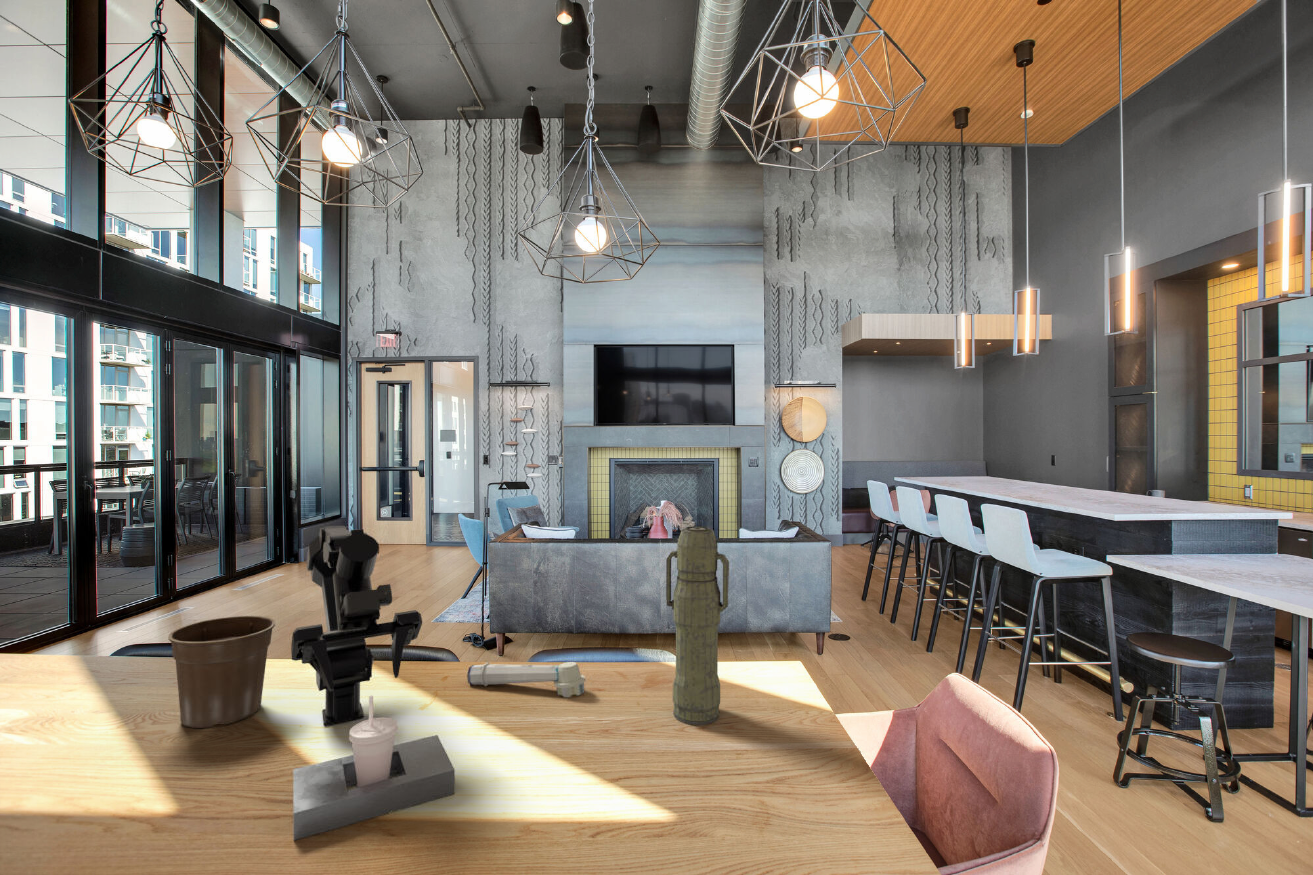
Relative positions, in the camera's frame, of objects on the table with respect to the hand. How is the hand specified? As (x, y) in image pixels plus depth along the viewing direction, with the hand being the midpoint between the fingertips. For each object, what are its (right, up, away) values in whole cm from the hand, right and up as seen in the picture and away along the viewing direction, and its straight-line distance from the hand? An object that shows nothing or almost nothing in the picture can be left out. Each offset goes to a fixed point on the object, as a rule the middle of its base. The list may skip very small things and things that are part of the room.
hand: (365, 683), depth 94 cm
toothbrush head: (+18, -14, +31) cm, 39 cm away
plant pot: (-35, -14, +19) cm, 42 cm away
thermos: (+53, -14, +20) cm, 58 cm away
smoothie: (+4, -14, -6) cm, 16 cm away
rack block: (+4, -13, -6) cm, 15 cm away
